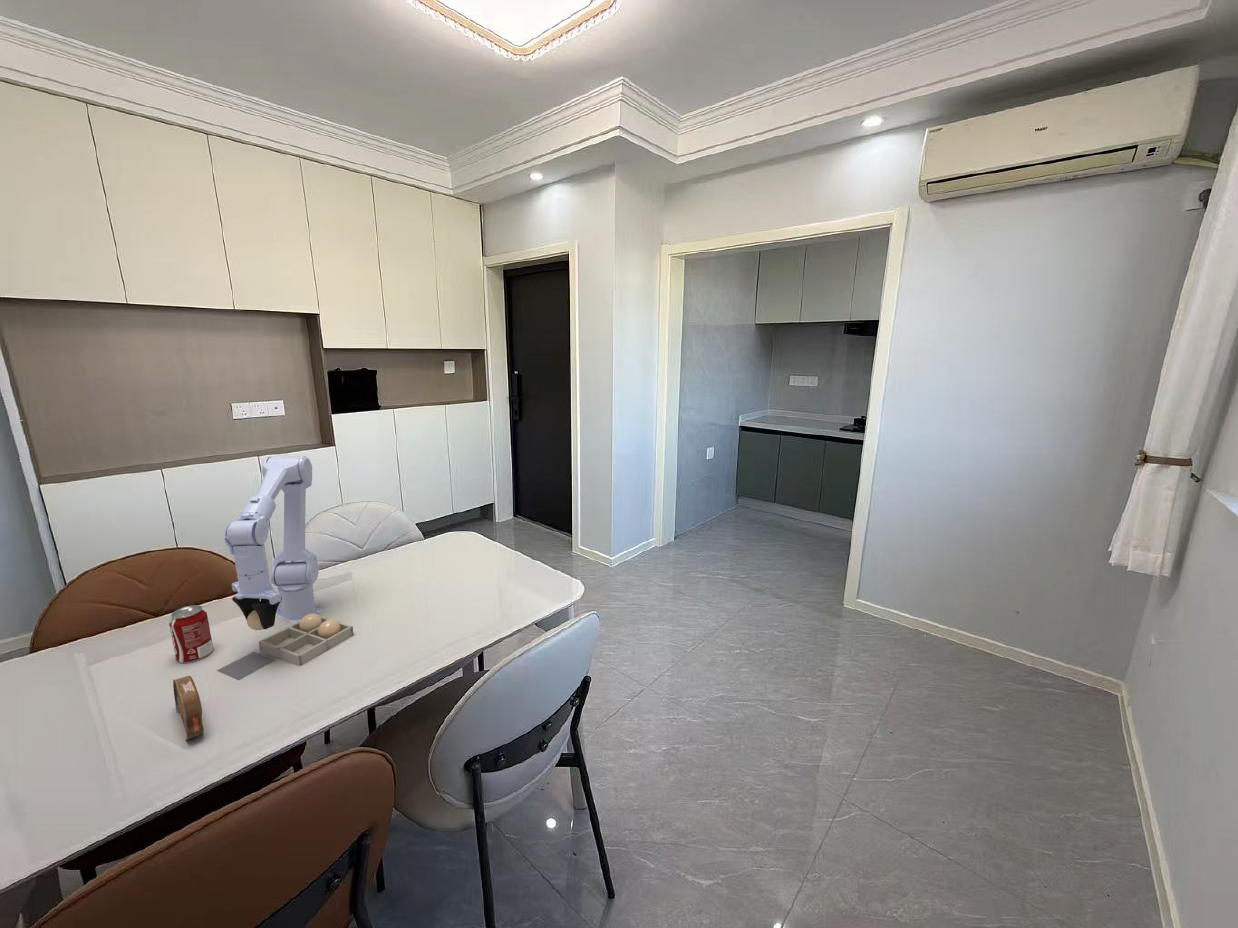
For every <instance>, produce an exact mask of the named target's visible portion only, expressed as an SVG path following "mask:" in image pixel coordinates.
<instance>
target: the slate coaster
mask: <svg viewBox="0 0 1238 928" xmlns="http://www.w3.org/2000/svg"><path fill="white" fill-rule="evenodd" d="M275 661H276V659H274V658H271V657H269V656H266V655H263V654H261V653H259V652H257V651H252V652H250V653H248V654H247V655H244V656H242V657H240V658H237V660H234V661H232V662H231V663H228V664H227V665H224V666H222V667H220V668H219V669H216V671H217V672H218V673H221V674H223V675H226V676H228V677H230V678H232V679H235V680H238V681H240V680H242V679H243V678H245V677H247V676H250V675H252V674H253V673H255V672H257V671H259V670H260V669H262V668H264V667H267V666H268V665H269V664H272V663H273V662H275Z"/></svg>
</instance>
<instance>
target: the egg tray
mask: <svg viewBox="0 0 1238 928" xmlns="http://www.w3.org/2000/svg"><path fill="white" fill-rule="evenodd" d="M319 616H320V617H321V619H322V623H323V622H324V621H326V620H333V619H331V618H328V617H325V616H323V615H319ZM336 621H337V620H336ZM296 622H297V621H296ZM337 622H338V623H339V624H340V627H341V630H340V632H339V633H337V634H335V635H333V636H332V637H330V638H328V639H324V638H321V637H319V636H318V628H319V627H317V628H316V629H314V630H312V631H310V632H308V633H307V632H304V631H301V630H300V628H299V623H300V621H299V622H297V623H293V624H291V625H289V626H287V627H285V628H283V629H282V630H280V631H278V632H275V633H273V634H271V635H269V636H267V637H265V638H263V639H261V640H259V641H258V647H259V651H260V652H261V653H265V654H268V655H271V656H273V657H276V658H278V659H281V660H284V661H286V662H288V663H291V664H293V665H296V666H299V667H301V666H302V665H304V664H306V663H308V662H309V661H311V660H312V659H315V658H316V657H319V656H320V655H321V654H323V653H326V652H327V651H328V650H330V649H331V648H333V647H335V646H337V645H339V644H340V643H342V642H344V641H346V640H347V639H349V638H350V637H352V636H354V626H353V625H350V624H347V623H343V622H341V621H337ZM289 638H291V639H293V640H291V641H289V642H287V643H285V644H283V645H281V646H277V645H276V644H279V643H281V642H283V641H284V640H286V639H289ZM308 644H309V645H311V647H310V648H308V649H307V650H305V651H303V652H301V653H296V652H295V651H297V650H299V649H300V648H302V647H304V646H307V645H308Z"/></svg>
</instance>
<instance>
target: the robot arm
mask: <svg viewBox="0 0 1238 928" xmlns="http://www.w3.org/2000/svg"><path fill="white" fill-rule="evenodd" d="M261 473H262V476H263V478H262V482H261V484H260V486H259V488H258V489H259V490H258V491H257V495H252V496H251V497H249V499H247V502H246V503H245V505H244V506H243V509H242V510H241V512H240V514H239V515H238V517H237V519H236V520H234V521H231V522H230V523H228V524H227V526H225V530H224V538H223V540H224V542H225V544H226V546H227V547H228V548H229V552H230V554H231V555H232V556H233V558H234V563H235V564H234V565H235V572H236V575H237V580H238V581H235V582H233V583H231V588H232V591H233V592H235V593H236V594H234V596H233V597H232V598H231V600H232V602H234V603H235V605H237V606H238V608H239V609H240V611H241V613H242V615H243V616H244V618H245V620H246V621H247V618H248V615H249V614H250V613H251V612H252V611H254V610H255V611H256V612H257V614H258V616H259V619H260V622H261V625H262V627H263V630H268V629H270V628H272V627H274V626H275V621H276V618H278V619H282V620H285V621H287V622H290V623H293V624H295V623H297V622H299V621H301V619H302V618H303V617H304V616H306V615H308V614H317V615H318V614H319V613H322V612H324V609H323V608H319V607H316V601H315V593H314V592H315V591H314V584H315V582H316V581H317V579H318V576H319V572H320V571H319V564H318V557H317V555H316V554H314V553H313V552H311V551H310V550H308V549H306V503H307V502H306V498H307V497H306V495H307V489H308V488H310V487H312V482H313V465H312V463H311V460H310V459H309V458H308V457H307V456H306V455H302V456H275V457H274V456H267V457H265V459H264V460H263V461H262V465H261ZM281 491H282V492H283V494H284V497H283V551H282V552H281V553H279V554H278V555H276V557H274V558H273V559H272V566H271V570H270V573H269V566H268V559H267V554H266V553H267V552H266V547H265V543H266V541H267V540H268V537H269V529H270V523H269V522H270V520H271V518H272V516H273V513H274V512H275V510H276V507H277V504H276V502H275V500H276V497H278V495H279V493H280V492H281ZM272 584H273V585H274V586H275V587H276V588H275V587H274V586H273V585H272Z"/></svg>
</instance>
